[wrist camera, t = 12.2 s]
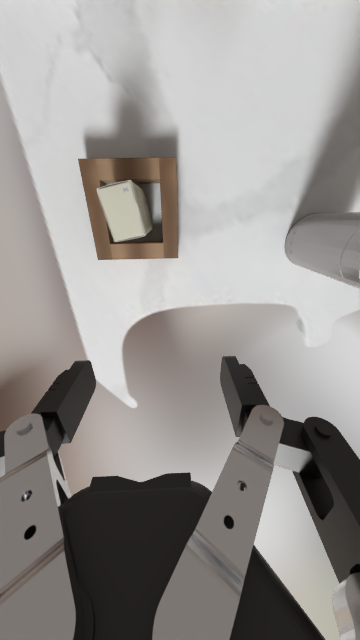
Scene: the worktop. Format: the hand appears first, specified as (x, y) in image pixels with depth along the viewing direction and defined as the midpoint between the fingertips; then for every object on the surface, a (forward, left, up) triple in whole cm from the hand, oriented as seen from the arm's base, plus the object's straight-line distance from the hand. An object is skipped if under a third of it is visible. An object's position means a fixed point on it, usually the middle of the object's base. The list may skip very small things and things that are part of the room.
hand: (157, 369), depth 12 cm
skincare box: (+5, -9, -30) cm, 32 cm away
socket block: (+5, -9, -30) cm, 32 cm away
